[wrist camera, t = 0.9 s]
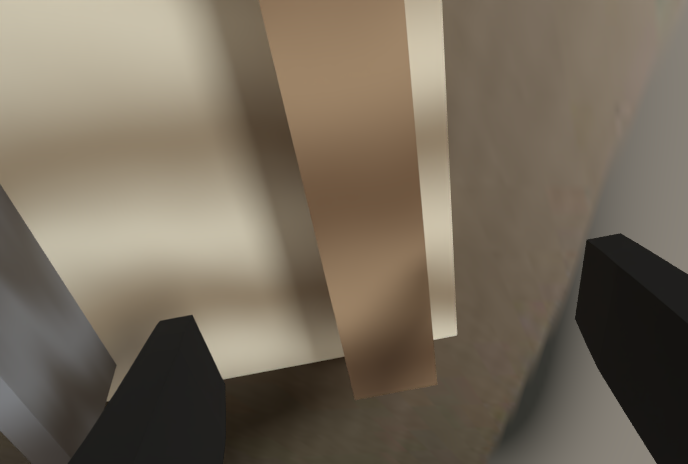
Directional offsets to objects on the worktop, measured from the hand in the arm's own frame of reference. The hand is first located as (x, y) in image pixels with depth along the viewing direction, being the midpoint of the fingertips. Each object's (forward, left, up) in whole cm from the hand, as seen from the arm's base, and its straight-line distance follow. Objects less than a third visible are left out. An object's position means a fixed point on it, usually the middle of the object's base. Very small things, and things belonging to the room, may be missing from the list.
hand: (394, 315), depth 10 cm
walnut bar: (0, 0, -8) cm, 8 cm away
